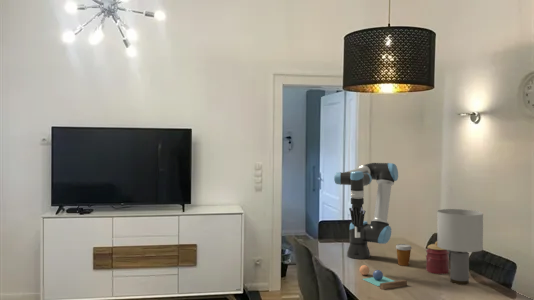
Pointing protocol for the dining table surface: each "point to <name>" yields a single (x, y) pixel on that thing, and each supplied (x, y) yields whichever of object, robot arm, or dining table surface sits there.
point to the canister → (437, 259)
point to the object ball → (377, 275)
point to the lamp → (460, 239)
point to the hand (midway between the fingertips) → (357, 237)
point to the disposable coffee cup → (403, 254)
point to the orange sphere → (364, 270)
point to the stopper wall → (393, 284)
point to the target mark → (377, 282)
